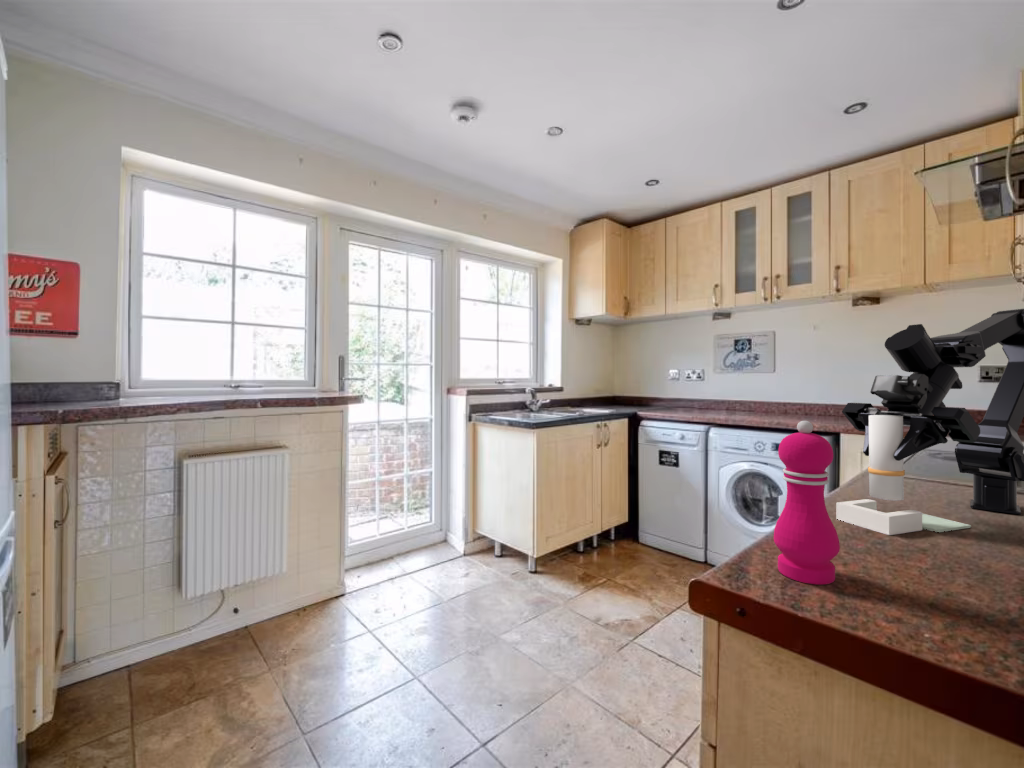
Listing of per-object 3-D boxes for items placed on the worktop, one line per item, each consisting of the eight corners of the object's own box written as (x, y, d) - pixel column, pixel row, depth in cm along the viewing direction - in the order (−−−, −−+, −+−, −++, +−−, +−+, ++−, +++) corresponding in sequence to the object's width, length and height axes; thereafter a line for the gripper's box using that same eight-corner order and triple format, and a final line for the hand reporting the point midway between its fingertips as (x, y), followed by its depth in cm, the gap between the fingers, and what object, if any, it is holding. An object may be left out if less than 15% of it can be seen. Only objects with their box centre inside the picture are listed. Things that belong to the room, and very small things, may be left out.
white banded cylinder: (870, 491, 83) (869, 414, 82) (906, 496, 79) (905, 415, 79) (866, 497, 79) (865, 416, 79) (903, 502, 76) (902, 417, 75)
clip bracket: (867, 515, 84) (867, 498, 84) (922, 530, 76) (922, 512, 76) (836, 519, 82) (836, 502, 82) (889, 535, 74) (889, 516, 73)
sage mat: (916, 514, 84) (916, 512, 84) (970, 527, 77) (970, 525, 77) (885, 518, 82) (885, 516, 82) (937, 532, 74) (937, 530, 74)
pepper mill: (849, 577, 58) (849, 420, 58) (824, 592, 54) (824, 424, 54) (789, 559, 64) (788, 417, 64) (763, 571, 60) (762, 420, 60)
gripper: (848, 361, 89) (805, 420, 86) (967, 356, 71) (918, 431, 68) (878, 400, 91) (837, 459, 88) (1001, 404, 73) (954, 479, 70)
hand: (880, 456), depth 79 cm, fingers closed on white banded cylinder, 5 cm apart
